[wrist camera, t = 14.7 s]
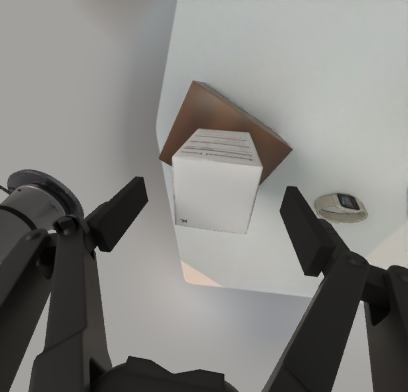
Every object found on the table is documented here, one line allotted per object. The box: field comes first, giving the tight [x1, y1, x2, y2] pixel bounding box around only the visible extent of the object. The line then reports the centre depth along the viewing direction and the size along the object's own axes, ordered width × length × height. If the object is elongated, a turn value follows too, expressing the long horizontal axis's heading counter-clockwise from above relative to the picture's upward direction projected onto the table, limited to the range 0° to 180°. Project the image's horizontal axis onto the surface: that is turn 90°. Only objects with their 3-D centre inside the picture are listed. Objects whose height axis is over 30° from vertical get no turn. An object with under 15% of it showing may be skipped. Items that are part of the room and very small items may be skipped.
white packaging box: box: [172, 129, 263, 234], centre depth 20 cm, size 7×7×13 cm
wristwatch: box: [315, 193, 368, 223], centre depth 36 cm, size 9×6×5 cm
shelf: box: [159, 81, 293, 186], centre depth 30 cm, size 16×12×10 cm
